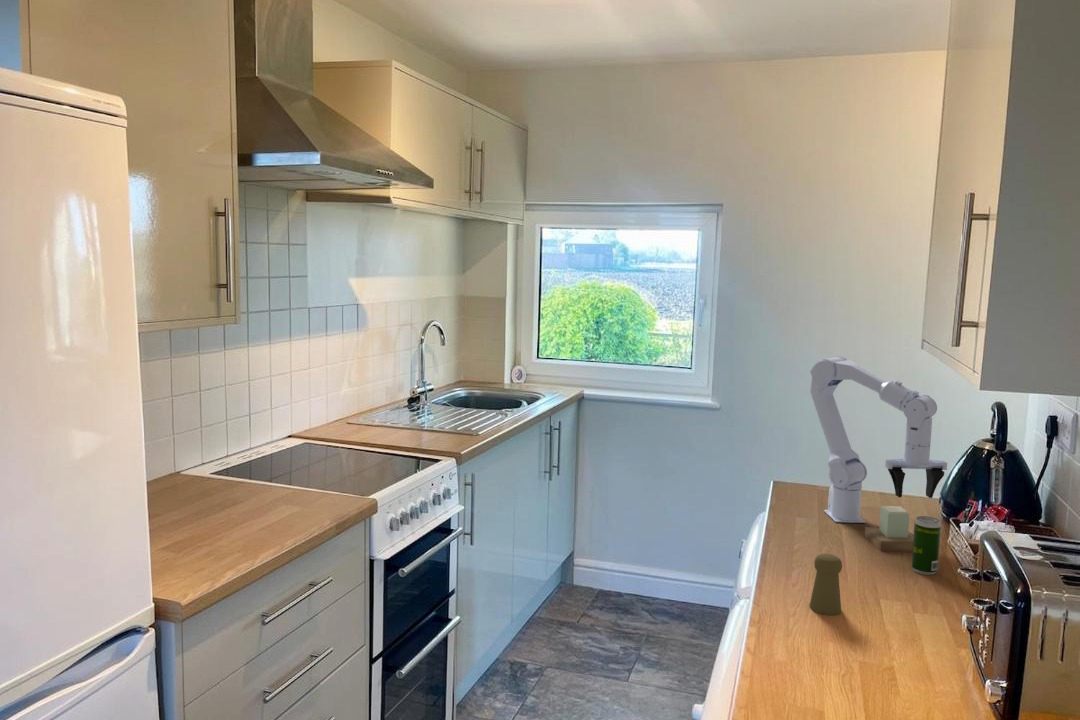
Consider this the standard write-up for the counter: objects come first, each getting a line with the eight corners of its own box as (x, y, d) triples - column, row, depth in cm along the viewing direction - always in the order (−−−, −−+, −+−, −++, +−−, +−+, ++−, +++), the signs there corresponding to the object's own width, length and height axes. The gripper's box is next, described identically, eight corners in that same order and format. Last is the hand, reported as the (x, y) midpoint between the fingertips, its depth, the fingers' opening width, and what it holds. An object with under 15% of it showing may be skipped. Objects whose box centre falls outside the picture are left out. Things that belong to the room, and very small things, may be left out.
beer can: (941, 571, 177) (945, 520, 175) (930, 577, 173) (934, 525, 172) (917, 564, 181) (921, 514, 179) (906, 570, 177) (910, 518, 176)
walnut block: (864, 538, 199) (865, 527, 199) (904, 539, 199) (904, 527, 198) (880, 553, 189) (881, 541, 189) (922, 553, 189) (923, 541, 188)
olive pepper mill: (826, 617, 153) (829, 563, 152) (802, 605, 158) (805, 553, 157) (848, 611, 156) (851, 558, 154) (824, 599, 161) (827, 548, 160)
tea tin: (879, 530, 196) (880, 505, 195) (899, 530, 196) (901, 505, 195) (886, 537, 191) (888, 512, 190) (907, 537, 191) (909, 512, 190)
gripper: (895, 447, 193) (891, 500, 194) (954, 448, 192) (950, 501, 194) (883, 440, 200) (880, 492, 201) (941, 441, 199) (937, 493, 201)
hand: (913, 496), depth 198 cm, fingers open, 7 cm apart
